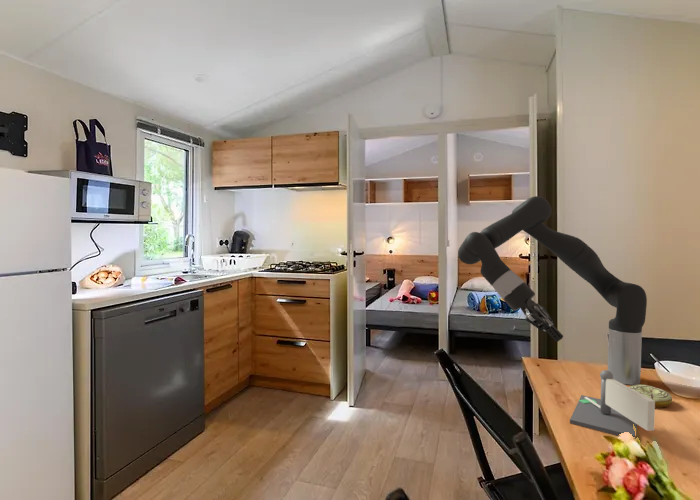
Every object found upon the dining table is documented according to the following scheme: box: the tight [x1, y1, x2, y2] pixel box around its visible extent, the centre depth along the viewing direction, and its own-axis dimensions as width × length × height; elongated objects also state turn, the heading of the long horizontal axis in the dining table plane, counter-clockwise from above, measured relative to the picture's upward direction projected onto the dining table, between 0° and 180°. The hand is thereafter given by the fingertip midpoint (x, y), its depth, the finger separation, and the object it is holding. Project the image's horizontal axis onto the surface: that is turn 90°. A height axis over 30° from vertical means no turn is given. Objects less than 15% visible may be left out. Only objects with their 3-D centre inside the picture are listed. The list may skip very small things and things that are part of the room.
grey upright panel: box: [584, 369, 656, 432], centre depth 104 cm, size 24×3×12 cm, turn 1°
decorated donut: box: [628, 384, 673, 409], centre depth 117 cm, size 10×11×4 cm
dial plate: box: [569, 394, 638, 437], centre depth 107 cm, size 20×14×1 cm
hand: (560, 339), depth 105 cm, fingers closed
